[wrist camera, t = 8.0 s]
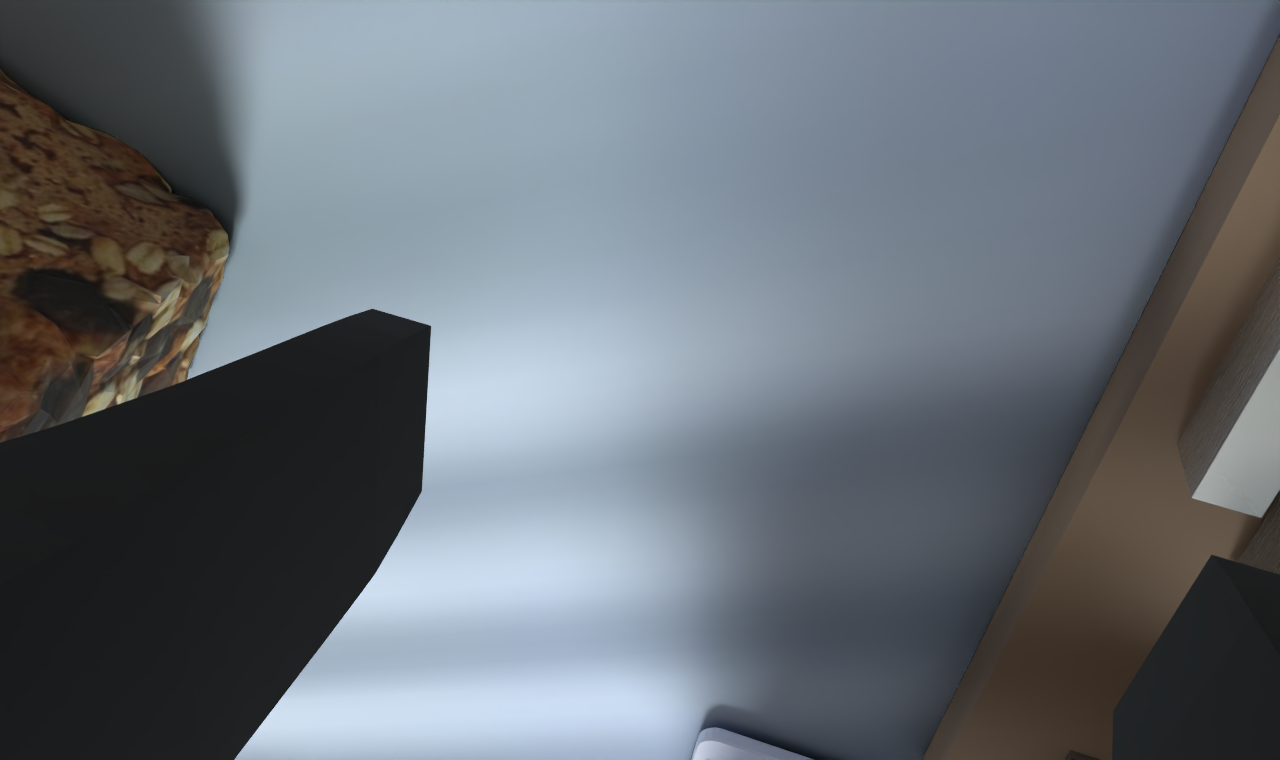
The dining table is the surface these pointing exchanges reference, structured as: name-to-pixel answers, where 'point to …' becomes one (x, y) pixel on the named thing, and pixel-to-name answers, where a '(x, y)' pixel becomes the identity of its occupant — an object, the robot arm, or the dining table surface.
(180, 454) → the robot arm
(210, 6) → the dining table surface
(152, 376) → the bread
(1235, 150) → the press base
